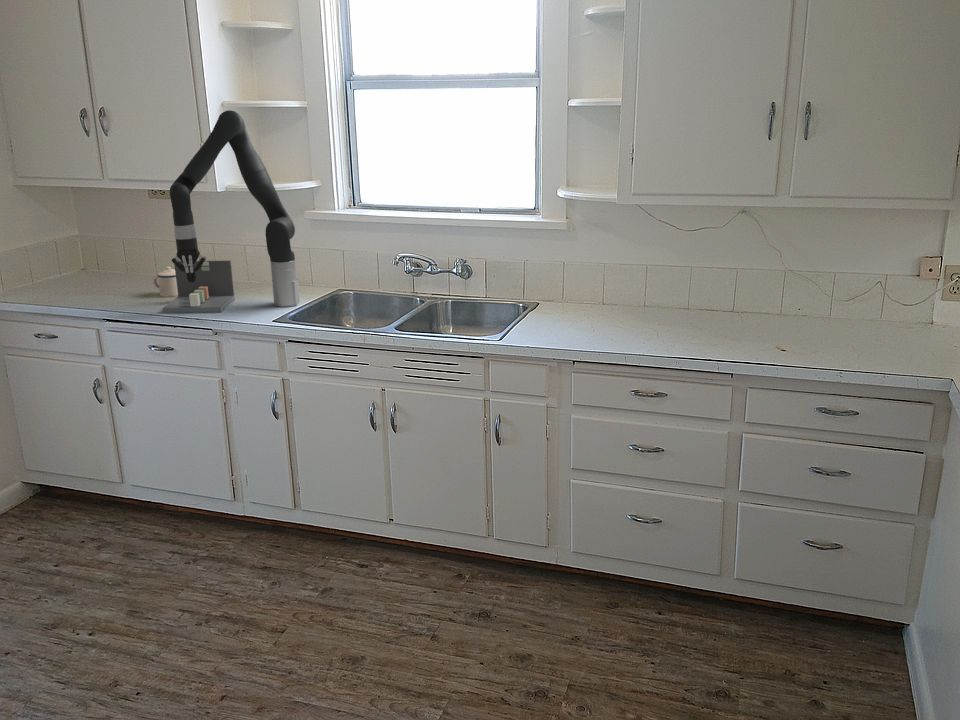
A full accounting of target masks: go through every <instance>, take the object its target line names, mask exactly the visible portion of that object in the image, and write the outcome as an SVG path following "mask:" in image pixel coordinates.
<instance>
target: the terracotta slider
mask: <svg viewBox="0 0 960 720" xmlns="http://www.w3.org/2000/svg"><path fill="white" fill-rule="evenodd" d="M198 290H204V297H205V299H208V298H209V293H208V286H206V287H199V288H198Z"/></svg>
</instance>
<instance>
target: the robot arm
mask: <svg viewBox="0 0 960 720" xmlns="http://www.w3.org/2000/svg"><path fill="white" fill-rule="evenodd" d="M227 144H229V146H230V147H231V148H232V151H233V153H234V156H235V159H236V161H237V162H236V163H237V166H238V169H239V172H240V175H241V177H242V179H243V182H244V183H245V185H246V187H247V190H248V191H249V193H250V194H251V195H252V197H253V198H254V199H255V200H256V201H257V202H258V203H259V205H260V206H261V207H262V208H263V210H264V211H265V213H266V216H267V218H268V220H269V222H268V223H267V224H266V227H265V241H266V242H265V243H266V250H267V255H268V257H269V259H270V260H269V261H270V271H271V272H270V274H271V284H272V294H273V295H272V296H273V305H274V306H275V307H293V306H297V305H298V304H299V303H300V293H299V292H300V290H299V281H298V278H297V273H296V259H295V257H296V256H295V252H294V251H293V250H292V247H291V239H293V237H294V236H295V234H296V233H295V232H296V227H295V224H294V222H293V220H292V219H291V216H290V215H289V214H288V212H287V210H286V208H285V207H284V205H283V203H282V200H281V199H280V196H279V195H278V192H277V190H276V187H275V186H274V184H273V181H272V178H271V177H270V175H269V172H268V170H267V168H266V166H265V164H264V163H263V161H262V159H261V157H260V156H259V154H258V152H257V150H256V149H255V148H254V145H253V144H252V141H251V139H250V136H249V134H248V130H247V127H246V125H245V121H244V119H243V116H241V114H239V112H237V111H235V110H231V109H230V110H229V109H228V110H225V111H223V112H221V113H220V114H219V116H218V118H217V121H216V122H215V125H214V126H213V129H212V130H211V132H210V134H209V135H208V137H207V139H206V140H205V142H204V143H203V145H201V147H200V148H199V149H198V150H197V152H196V153H195V154H194V156H193V157H192V158H191V159H190V161H189V162H188V163H187V165H186V166H185V168H184V169H183V171H182V173H181V174H179V176H178V177H177V178H176V179H175V180H174V181H173V183H171V184H172V185H170V187H169V197H170V203H171V208H172V219H173V225H174V226H173V227H174V238H175V239H174V240H175V243H176V244H175V245H176V246H175V247H176V254H175V257H173V258H172V259H171V263H172V264H175V265H176V266H177V267H178V268H179V269H180V270H181V271H182V272H183V271H184V272H186V273H187V280H188V281H189V282H190V283H191V282H195V280H196V275H195V271H198V270H199V269H200V267H201V266H202V264H203V263H204V261H207V257H206V256H203V255H202V254H201V253H200V251H199V247H198V246H199V245H198V238H197V232H196V226H195V221H194V215H193V210H192V202H191V201H192V200H191V193H192V192H193V191H194V189H195V188H196V186H197V185H198V184H200V182H201V181H202V180H203V179H204V178H205V177H206V175H207V174H208V172H209V170H211V167H212V166H213V164H214V163H215V162H216V160H217V158H218V156H219V154H220V153H221V151H223V149H224V148H225V146H226V145H227ZM179 261H182V262H183V264H184V266H183V265H182V264H181V263H180V262H179ZM196 261H199V263H198V264H197V266H196V268H195V262H196ZM175 265H174V266H175Z"/></svg>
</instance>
